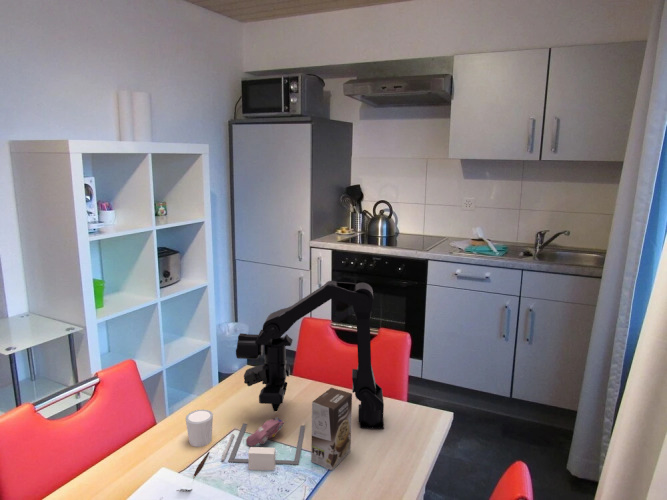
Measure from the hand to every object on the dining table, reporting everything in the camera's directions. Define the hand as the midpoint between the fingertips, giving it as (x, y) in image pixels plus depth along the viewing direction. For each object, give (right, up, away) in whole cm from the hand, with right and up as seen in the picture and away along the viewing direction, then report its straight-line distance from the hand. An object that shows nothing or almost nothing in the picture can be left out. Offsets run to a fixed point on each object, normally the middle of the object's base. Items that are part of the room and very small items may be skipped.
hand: (275, 410), depth 134 cm
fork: (-16, -8, -23) cm, 29 cm away
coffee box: (+16, -6, -16) cm, 23 cm away
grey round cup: (-18, -5, -10) cm, 21 cm away
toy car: (-1, -5, -9) cm, 11 cm away
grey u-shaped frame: (-1, -5, -12) cm, 13 cm away
